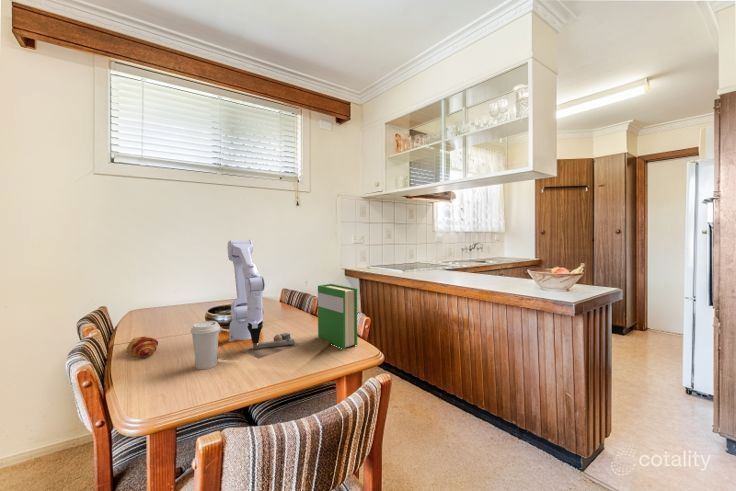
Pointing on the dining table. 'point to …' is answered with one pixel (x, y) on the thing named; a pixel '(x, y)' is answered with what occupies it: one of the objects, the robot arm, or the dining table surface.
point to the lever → (273, 343)
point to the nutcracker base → (270, 348)
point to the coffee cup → (205, 343)
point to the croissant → (142, 346)
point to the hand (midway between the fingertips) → (255, 341)
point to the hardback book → (337, 315)
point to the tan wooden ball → (278, 338)
